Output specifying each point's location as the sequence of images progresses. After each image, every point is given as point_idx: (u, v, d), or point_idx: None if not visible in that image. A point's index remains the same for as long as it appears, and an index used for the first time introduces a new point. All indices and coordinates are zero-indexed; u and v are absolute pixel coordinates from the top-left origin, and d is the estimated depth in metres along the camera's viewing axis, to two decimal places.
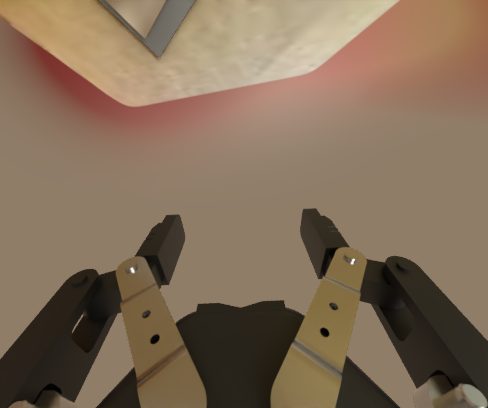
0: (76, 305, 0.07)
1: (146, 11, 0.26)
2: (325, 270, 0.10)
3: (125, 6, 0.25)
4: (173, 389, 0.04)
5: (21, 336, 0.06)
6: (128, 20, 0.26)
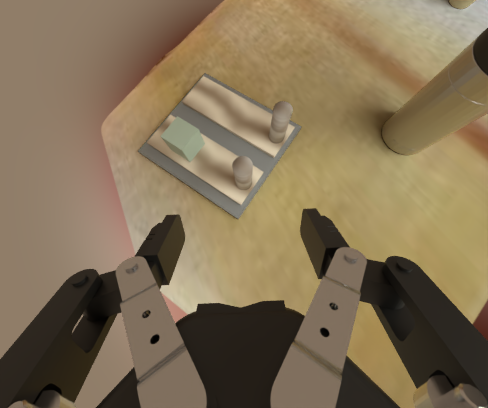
0: (76, 305, 0.07)
1: (160, 144, 0.40)
2: (325, 270, 0.10)
3: (161, 133, 0.41)
4: (173, 388, 0.04)
5: (21, 336, 0.06)
6: (154, 134, 0.41)
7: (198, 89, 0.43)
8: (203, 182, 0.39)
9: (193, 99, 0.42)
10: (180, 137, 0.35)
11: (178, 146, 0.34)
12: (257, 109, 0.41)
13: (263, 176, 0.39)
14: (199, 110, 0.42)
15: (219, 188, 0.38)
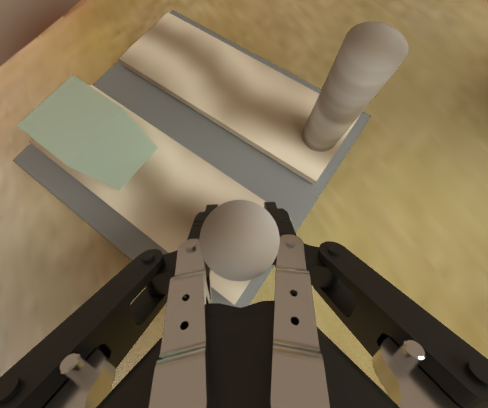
0: (138, 281, 0.08)
1: None
2: None
3: None
4: (181, 386, 0.04)
5: (97, 292, 0.07)
6: None
7: (154, 35, 0.21)
8: (148, 238, 0.17)
9: (142, 55, 0.20)
10: (71, 129, 0.13)
11: (60, 154, 0.12)
12: (276, 77, 0.19)
13: None
14: (152, 77, 0.20)
15: None
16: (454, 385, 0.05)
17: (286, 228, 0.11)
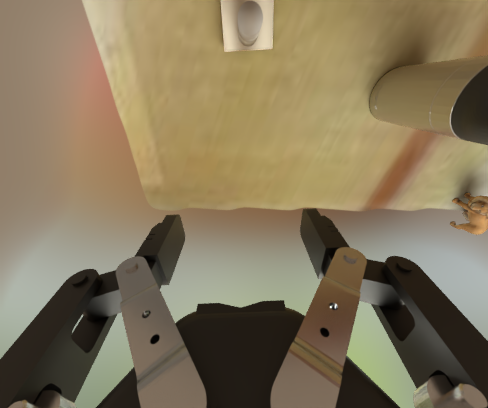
0: (76, 305, 0.07)
1: None
2: (325, 270, 0.10)
3: None
4: (173, 388, 0.04)
5: (21, 336, 0.06)
6: None
7: None
8: None
9: None
10: None
11: None
12: None
13: None
14: None
15: (223, 6, 0.29)
16: None
17: (336, 239, 0.10)
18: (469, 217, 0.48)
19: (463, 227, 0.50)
